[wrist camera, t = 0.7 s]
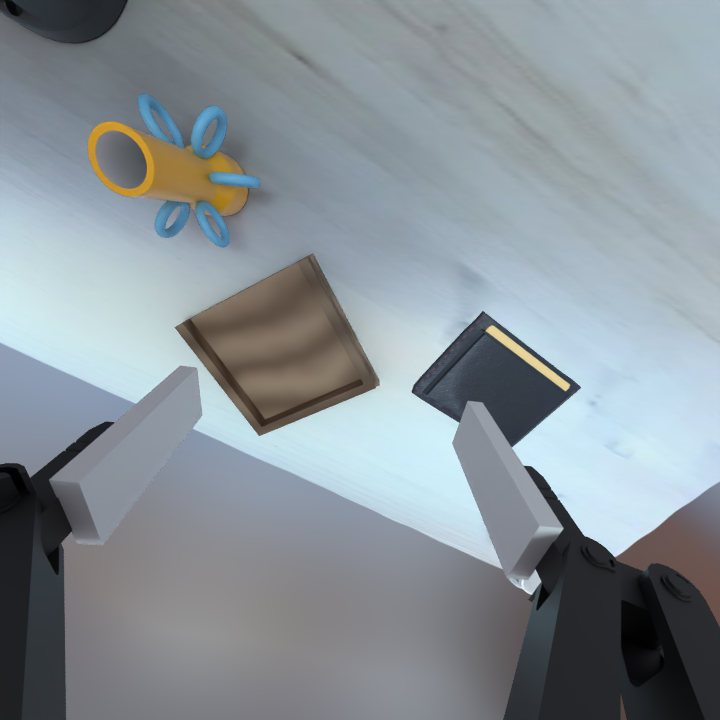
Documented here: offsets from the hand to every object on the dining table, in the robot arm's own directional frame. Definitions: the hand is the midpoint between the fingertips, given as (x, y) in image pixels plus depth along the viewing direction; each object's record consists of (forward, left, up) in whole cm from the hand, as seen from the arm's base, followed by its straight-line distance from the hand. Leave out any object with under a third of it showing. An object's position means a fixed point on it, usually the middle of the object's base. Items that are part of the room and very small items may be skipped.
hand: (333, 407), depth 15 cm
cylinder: (-17, -7, -25) cm, 31 cm away
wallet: (+21, +13, -26) cm, 36 cm away
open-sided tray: (+3, -11, -25) cm, 28 cm away
